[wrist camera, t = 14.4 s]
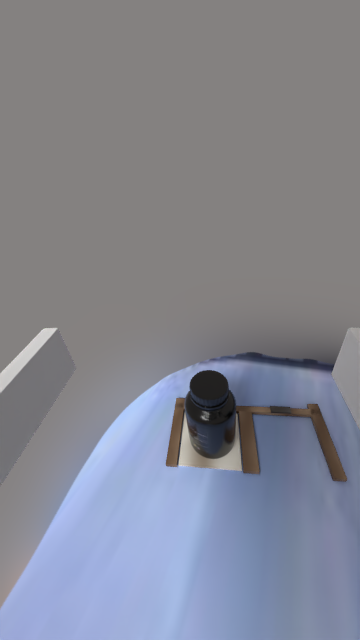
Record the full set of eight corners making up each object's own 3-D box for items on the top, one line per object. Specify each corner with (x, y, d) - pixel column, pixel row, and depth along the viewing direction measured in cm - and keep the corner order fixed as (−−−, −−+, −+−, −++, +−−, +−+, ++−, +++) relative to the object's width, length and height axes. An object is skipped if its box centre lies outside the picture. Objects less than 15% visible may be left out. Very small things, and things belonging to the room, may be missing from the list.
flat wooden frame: (316, 406, 40) (318, 403, 39) (346, 481, 31) (348, 478, 30) (176, 400, 43) (176, 397, 43) (166, 466, 34) (165, 462, 34)
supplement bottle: (209, 409, 41) (207, 356, 34) (244, 437, 36) (250, 382, 30) (179, 437, 37) (170, 384, 30) (213, 472, 33) (212, 419, 26)
